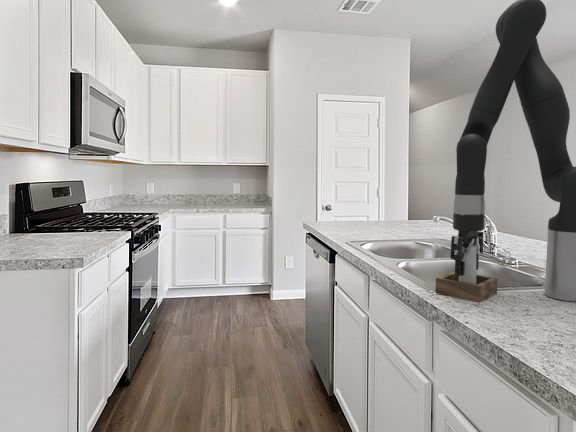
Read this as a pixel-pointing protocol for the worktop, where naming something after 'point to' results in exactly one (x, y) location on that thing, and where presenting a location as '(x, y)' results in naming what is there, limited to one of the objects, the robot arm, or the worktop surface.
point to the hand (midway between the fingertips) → (466, 272)
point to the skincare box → (469, 267)
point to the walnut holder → (466, 287)
